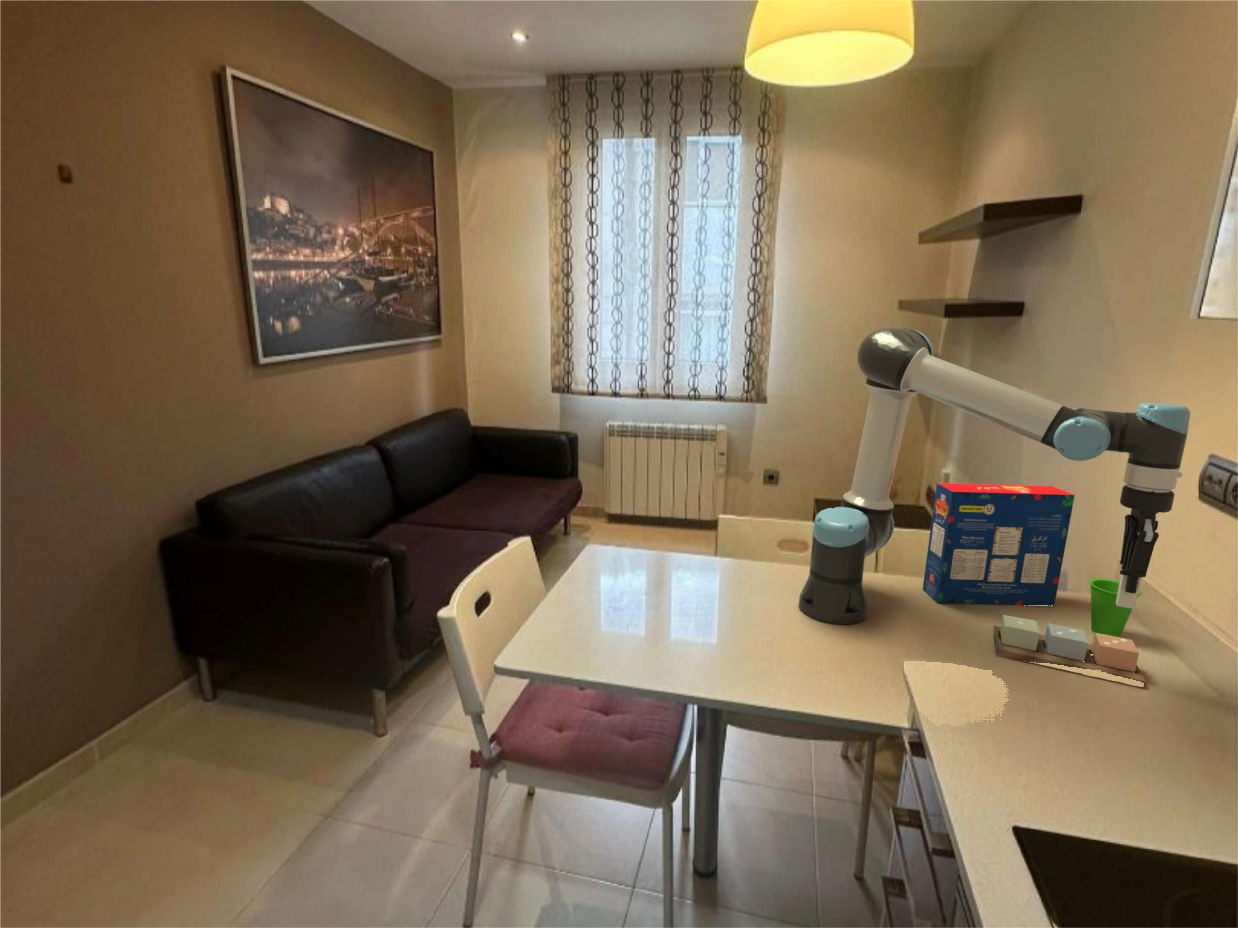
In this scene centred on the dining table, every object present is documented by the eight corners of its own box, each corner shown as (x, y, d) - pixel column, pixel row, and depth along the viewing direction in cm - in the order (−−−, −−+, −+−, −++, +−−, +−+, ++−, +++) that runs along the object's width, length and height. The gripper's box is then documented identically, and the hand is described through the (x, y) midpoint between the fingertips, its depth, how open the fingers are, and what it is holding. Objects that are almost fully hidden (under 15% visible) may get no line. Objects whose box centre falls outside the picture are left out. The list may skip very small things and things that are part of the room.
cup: (1140, 645, 136) (1151, 597, 133) (1092, 640, 137) (1102, 592, 135) (1117, 626, 144) (1127, 580, 142) (1072, 621, 146) (1081, 576, 144)
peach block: (1096, 664, 124) (1100, 644, 124) (1091, 650, 130) (1094, 631, 129) (1134, 672, 122) (1139, 652, 121) (1127, 658, 127) (1131, 639, 126)
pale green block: (1001, 643, 132) (1004, 625, 131) (1000, 631, 137) (1003, 613, 136) (1036, 651, 129) (1039, 632, 128) (1033, 638, 134) (1036, 620, 133)
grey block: (1047, 653, 128) (1051, 634, 127) (1044, 641, 133) (1047, 622, 132) (1084, 661, 125) (1087, 641, 124) (1079, 648, 131) (1082, 629, 130)
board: (995, 655, 130) (996, 648, 130) (993, 631, 140) (994, 625, 140) (1143, 688, 119) (1145, 681, 119) (1129, 659, 129) (1130, 652, 129)
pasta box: (1033, 593, 162) (1052, 486, 156) (1054, 606, 154) (1074, 494, 148) (922, 590, 162) (936, 483, 156) (937, 603, 154) (952, 491, 148)
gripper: (1185, 498, 111) (1158, 623, 116) (1164, 482, 122) (1141, 597, 127) (1131, 492, 114) (1107, 614, 119) (1116, 477, 125) (1095, 590, 130)
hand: (1125, 606), depth 123 cm, fingers closed
